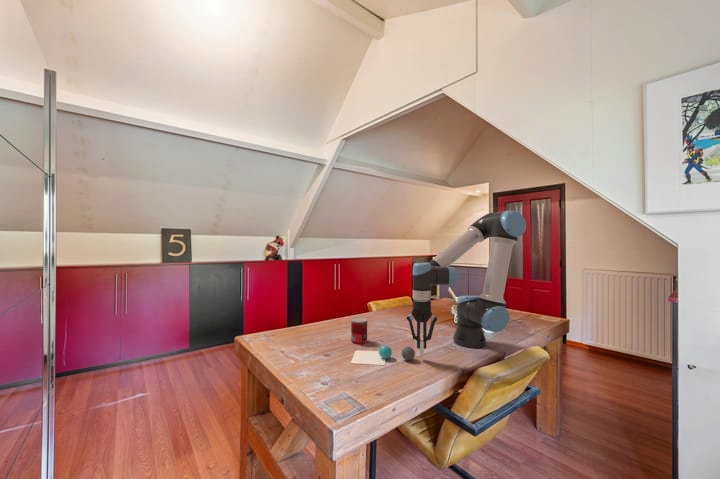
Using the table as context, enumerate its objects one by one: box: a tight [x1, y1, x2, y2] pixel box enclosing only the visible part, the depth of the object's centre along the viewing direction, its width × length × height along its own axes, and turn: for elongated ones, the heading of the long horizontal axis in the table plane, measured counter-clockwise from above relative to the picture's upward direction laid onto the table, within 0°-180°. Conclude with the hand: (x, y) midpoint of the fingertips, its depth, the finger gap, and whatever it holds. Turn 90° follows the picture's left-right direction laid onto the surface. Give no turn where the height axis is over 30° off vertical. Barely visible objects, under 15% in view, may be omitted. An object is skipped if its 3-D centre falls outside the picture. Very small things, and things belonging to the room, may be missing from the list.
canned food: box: [350, 317, 368, 345], centre depth 147 cm, size 8×8×11 cm
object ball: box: [378, 344, 393, 360], centre depth 126 cm, size 6×6×6 cm
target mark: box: [350, 350, 387, 366], centre depth 127 cm, size 14×14×1 cm
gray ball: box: [401, 346, 416, 362], centre depth 125 cm, size 6×6×6 cm
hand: (421, 355), depth 124 cm, fingers closed
